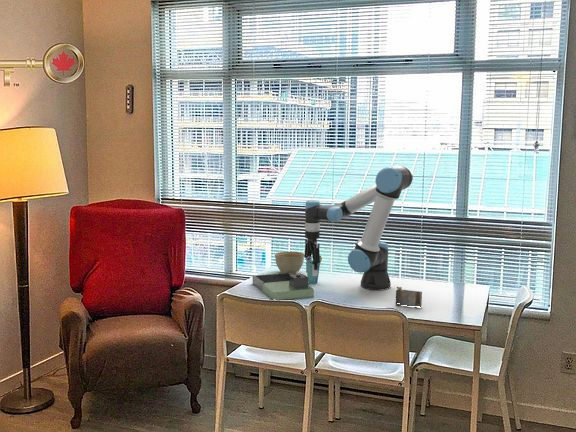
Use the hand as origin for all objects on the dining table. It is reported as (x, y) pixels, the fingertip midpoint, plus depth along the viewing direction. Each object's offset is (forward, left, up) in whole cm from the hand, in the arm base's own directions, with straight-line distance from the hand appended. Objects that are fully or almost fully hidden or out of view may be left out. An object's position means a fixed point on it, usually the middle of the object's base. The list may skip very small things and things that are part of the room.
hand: (311, 274), depth 333 cm
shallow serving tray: (-9, +19, -5) cm, 22 cm away
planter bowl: (+23, +3, -5) cm, 24 cm away
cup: (0, 0, -5) cm, 5 cm away
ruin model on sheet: (-54, -25, -5) cm, 60 cm away
